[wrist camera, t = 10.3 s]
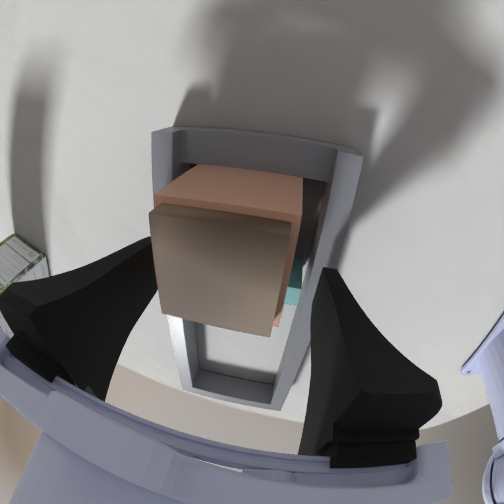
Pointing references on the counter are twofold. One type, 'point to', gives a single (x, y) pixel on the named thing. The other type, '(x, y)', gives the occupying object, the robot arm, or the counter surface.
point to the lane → (322, 253)
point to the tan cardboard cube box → (226, 246)
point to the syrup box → (19, 267)
